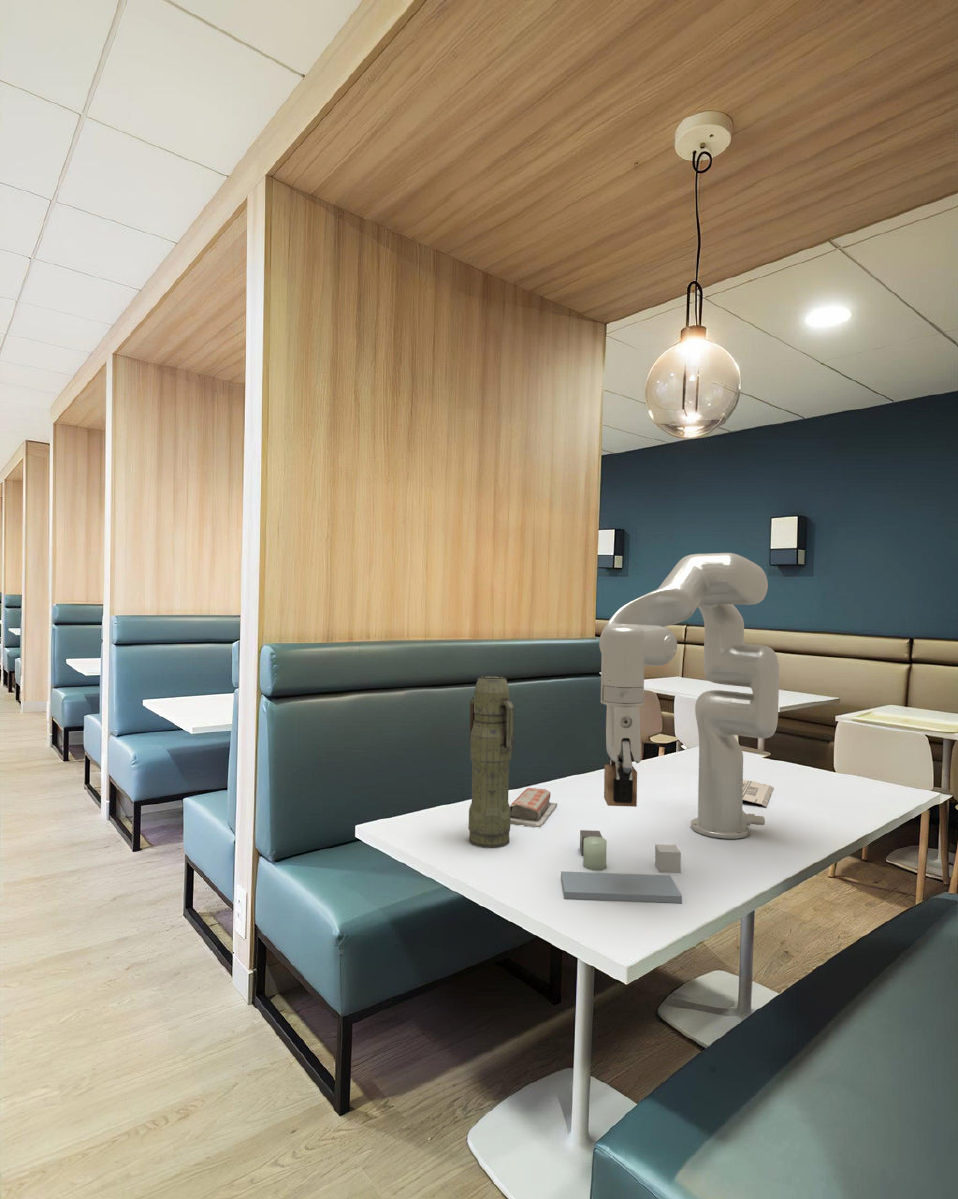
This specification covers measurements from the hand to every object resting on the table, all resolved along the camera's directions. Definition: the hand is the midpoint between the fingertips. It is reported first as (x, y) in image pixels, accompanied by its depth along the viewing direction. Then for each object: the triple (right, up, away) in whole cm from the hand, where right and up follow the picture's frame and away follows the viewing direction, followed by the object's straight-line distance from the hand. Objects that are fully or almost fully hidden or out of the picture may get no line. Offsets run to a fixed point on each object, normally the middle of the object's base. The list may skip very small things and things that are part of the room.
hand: (620, 796), depth 123 cm
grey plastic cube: (+11, -17, +10) cm, 23 cm away
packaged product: (-13, -17, +43) cm, 48 cm away
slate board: (0, -17, 0) cm, 17 cm away
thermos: (-23, -17, +24) cm, 37 cm away
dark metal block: (-2, -17, +18) cm, 25 cm away
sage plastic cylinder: (-3, -17, +11) cm, 20 cm away
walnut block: (0, -1, 0) cm, 1 cm away
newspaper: (+47, -19, +63) cm, 81 cm away
